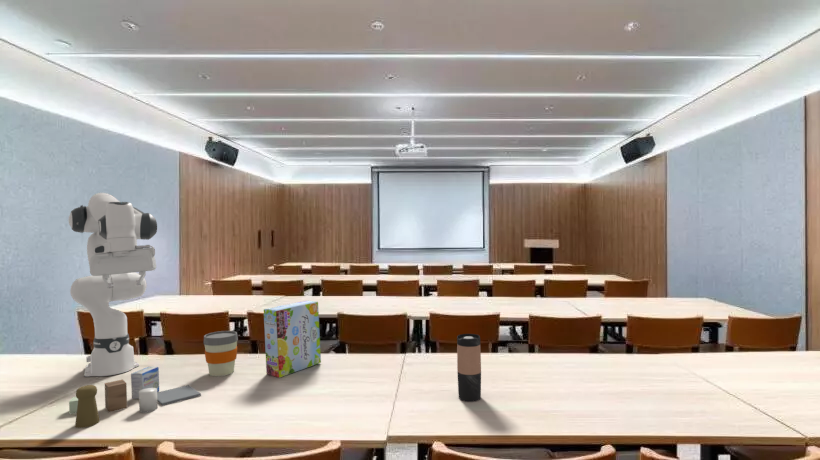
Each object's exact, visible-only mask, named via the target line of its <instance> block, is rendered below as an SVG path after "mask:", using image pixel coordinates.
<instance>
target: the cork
mask: <svg viewBox="0 0 820 460" xmlns="http://www.w3.org/2000/svg"><path fill="white" fill-rule="evenodd" d="M97 394H98V388H97V386H96V385H93V384H87V385H83V386H80V387H78V388H77V389H76V391H75V397H77V398H78V406H77V413H75V416H76V417H75V422H74V423H75V424H74V427H75V428H76V429H84V428H85V429H86V428H89V427H92V426H95V425H97V424H99V423H100V422H101V420H100V414H99V411H98V410H99V409H98V404H97V399H96V395H97Z"/></svg>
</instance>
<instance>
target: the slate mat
mask: <svg viewBox="0 0 820 460" xmlns="http://www.w3.org/2000/svg"><path fill="white" fill-rule="evenodd" d="M200 396H202V393H201V392H199V391H198V390H197V389H195V388H194V387H192V386H191V385H190V384H187V385H182V386H179V387H174V388H170V389H166V390H165V389H164V390H162V391H158V392H157V403H158V404H159V405H161V406H165V405H166V406H167V405H170V404H173V403H179V402H182V401H185V400H189V399H193V398H198V397H200Z"/></svg>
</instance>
